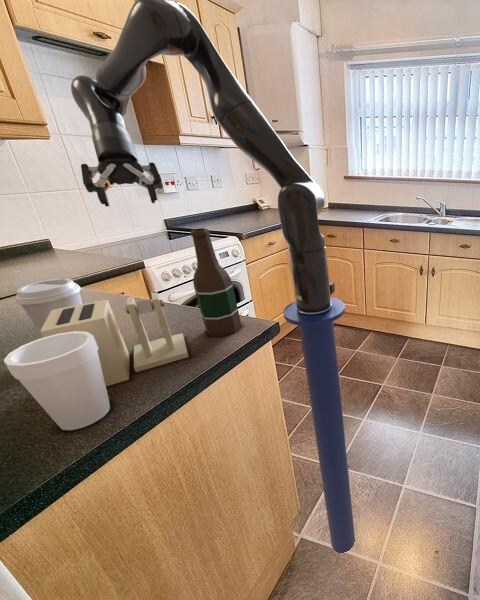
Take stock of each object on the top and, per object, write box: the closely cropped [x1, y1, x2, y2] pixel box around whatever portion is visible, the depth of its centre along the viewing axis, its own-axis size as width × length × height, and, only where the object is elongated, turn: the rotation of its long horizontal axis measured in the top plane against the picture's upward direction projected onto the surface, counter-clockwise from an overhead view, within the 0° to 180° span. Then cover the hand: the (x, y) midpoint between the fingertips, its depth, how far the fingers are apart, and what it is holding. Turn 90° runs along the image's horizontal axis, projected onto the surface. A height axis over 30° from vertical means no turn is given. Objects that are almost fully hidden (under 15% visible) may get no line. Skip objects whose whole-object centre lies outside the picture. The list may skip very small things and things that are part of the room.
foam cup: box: [3, 331, 111, 431], centre depth 52 cm, size 10×9×13 cm
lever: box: [135, 299, 166, 315], centre depth 71 cm, size 13×6×2 cm, turn 35°
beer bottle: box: [190, 227, 242, 337], centre depth 76 cm, size 8×8×24 cm
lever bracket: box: [124, 291, 190, 373], centre depth 69 cm, size 10×9×13 cm
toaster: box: [39, 299, 131, 387], centre depth 62 cm, size 10×8×13 cm
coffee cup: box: [14, 277, 84, 335], centre depth 70 cm, size 10×10×15 cm
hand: (130, 202), depth 76 cm, fingers open, 8 cm apart
